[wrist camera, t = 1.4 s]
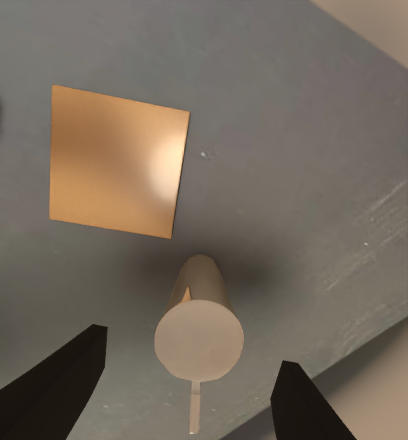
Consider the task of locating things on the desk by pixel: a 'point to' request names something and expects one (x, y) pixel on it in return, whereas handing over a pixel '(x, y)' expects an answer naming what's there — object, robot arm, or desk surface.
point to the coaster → (115, 162)
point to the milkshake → (199, 329)
